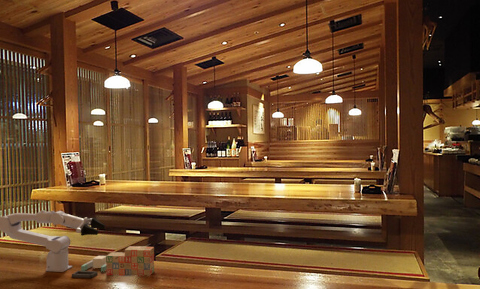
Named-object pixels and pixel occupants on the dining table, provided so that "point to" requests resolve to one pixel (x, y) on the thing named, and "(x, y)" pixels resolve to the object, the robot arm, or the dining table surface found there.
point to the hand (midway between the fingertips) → (101, 229)
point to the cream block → (99, 261)
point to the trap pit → (84, 274)
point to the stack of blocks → (131, 261)
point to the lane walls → (90, 264)
